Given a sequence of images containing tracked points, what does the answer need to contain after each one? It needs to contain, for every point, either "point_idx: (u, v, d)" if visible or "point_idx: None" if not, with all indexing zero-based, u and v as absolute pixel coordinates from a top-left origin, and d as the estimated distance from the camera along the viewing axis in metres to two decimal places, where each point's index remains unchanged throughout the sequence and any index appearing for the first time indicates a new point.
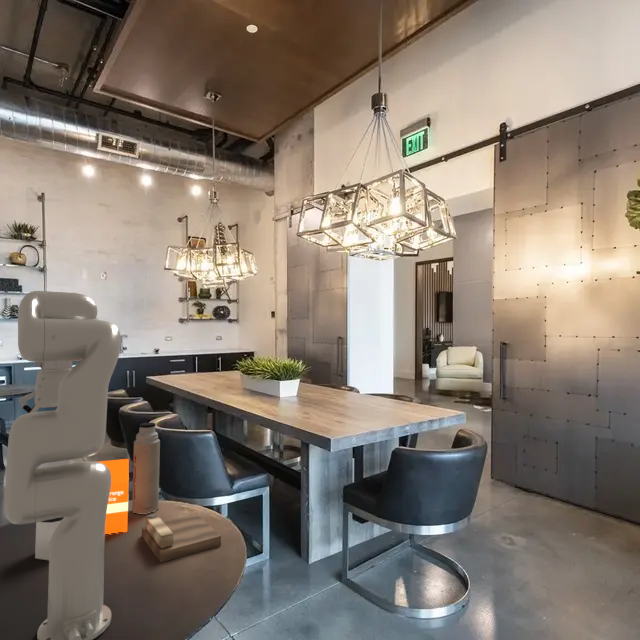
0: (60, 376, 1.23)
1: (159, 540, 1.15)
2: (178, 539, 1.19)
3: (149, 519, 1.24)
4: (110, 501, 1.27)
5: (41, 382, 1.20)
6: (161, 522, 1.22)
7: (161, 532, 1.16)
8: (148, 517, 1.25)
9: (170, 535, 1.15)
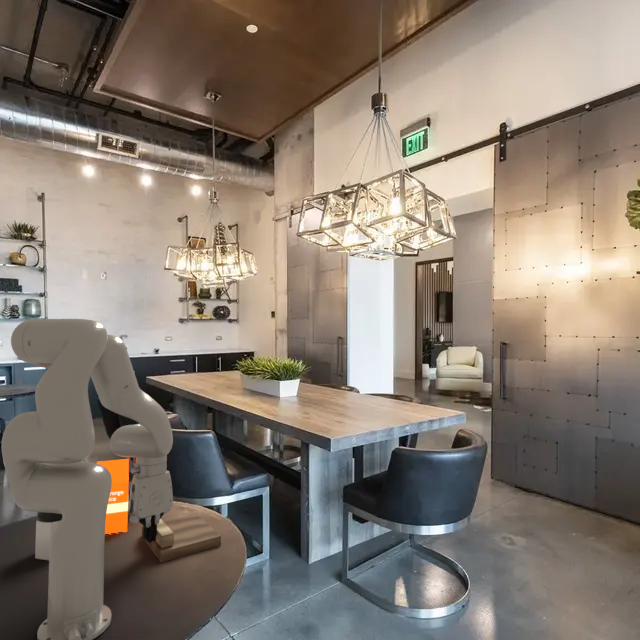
0: (159, 481, 1.15)
1: (160, 540, 1.15)
2: (178, 539, 1.19)
3: None
4: (110, 501, 1.27)
5: (142, 491, 1.11)
6: (161, 522, 1.22)
7: (161, 532, 1.16)
8: None
9: (171, 535, 1.15)
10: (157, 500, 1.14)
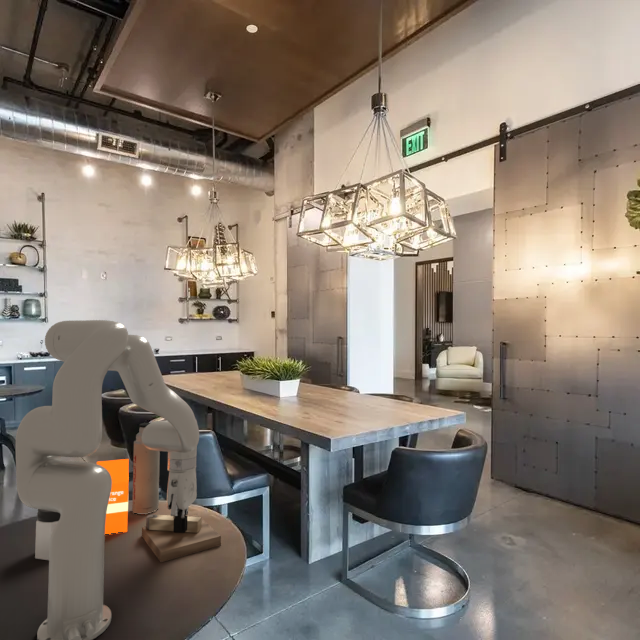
0: (192, 473, 1.22)
1: (191, 527, 1.23)
2: (178, 539, 1.19)
3: (155, 518, 1.24)
4: (110, 501, 1.27)
5: (185, 484, 1.18)
6: (172, 516, 1.26)
7: (190, 520, 1.23)
8: (151, 518, 1.24)
9: (200, 519, 1.25)
10: (191, 491, 1.22)
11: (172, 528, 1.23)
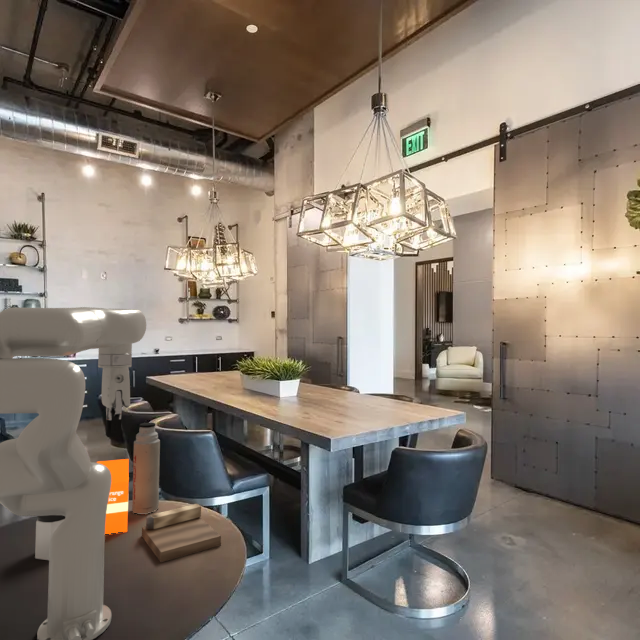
0: None
1: (195, 513, 1.32)
2: (178, 539, 1.19)
3: (159, 516, 1.26)
4: (110, 501, 1.27)
5: None
6: (170, 510, 1.30)
7: (193, 507, 1.32)
8: (154, 517, 1.25)
9: None
10: None
11: (177, 520, 1.29)
